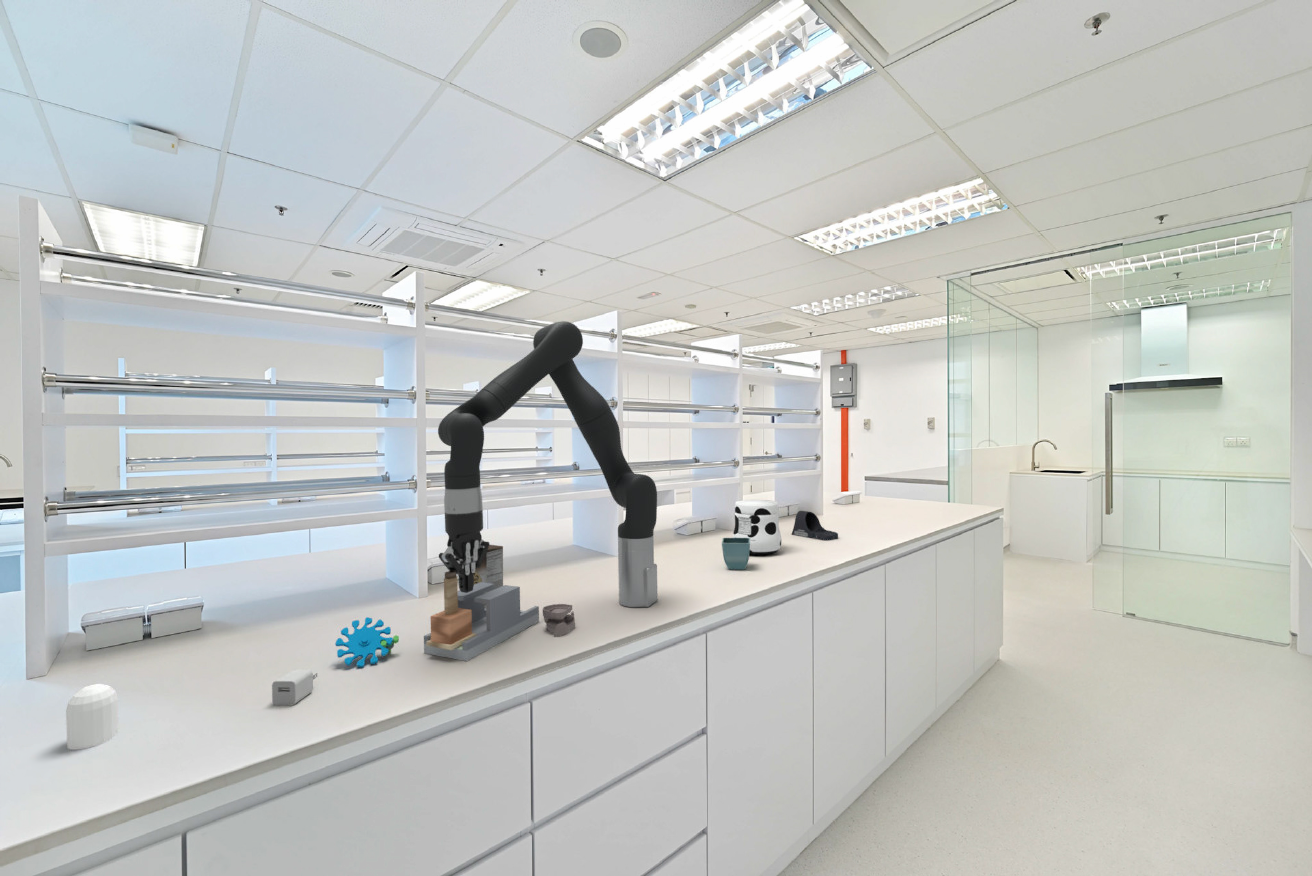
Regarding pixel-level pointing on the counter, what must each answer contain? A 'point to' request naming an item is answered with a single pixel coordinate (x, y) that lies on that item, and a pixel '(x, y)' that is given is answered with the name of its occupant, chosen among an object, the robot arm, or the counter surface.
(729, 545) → the flower pot
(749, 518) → the milk container
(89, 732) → the white domed cylinder
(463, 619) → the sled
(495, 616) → the tunnel
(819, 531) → the sight
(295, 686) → the usb wall charger
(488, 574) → the coffee box
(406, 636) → the counter surface
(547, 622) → the dental mold
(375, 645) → the gear
